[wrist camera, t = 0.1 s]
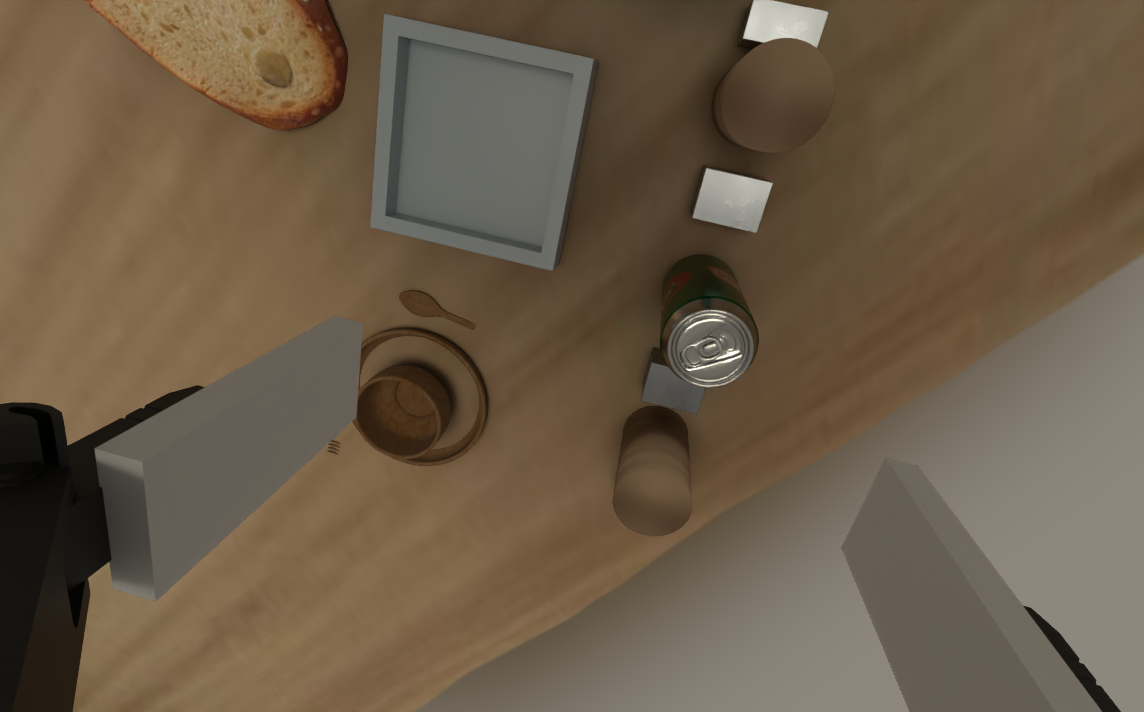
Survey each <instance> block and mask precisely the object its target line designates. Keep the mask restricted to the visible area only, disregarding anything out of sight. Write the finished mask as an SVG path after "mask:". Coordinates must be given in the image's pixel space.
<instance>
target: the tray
mask: <svg viewBox="0 0 1144 712" xmlns="http://www.w3.org/2000/svg"><path fill="white" fill-rule="evenodd" d="M598 64H599V63H598V62H597V61H596V60H595V59H593V58H588V57H583V56H579V55H574V54H569V53H565V52H560V51H555V50H551V49H546V48H541V47H537V46H532V45H527V44H523V43H518V42H513V41H509V40H504V39H499V38H495V37H490V36H485V35H481V34H476V33H471V32H467V31H462V30H457V29H453V28H448V27H443V26H439V25H434V24H430V23H425V22H420V21H416V20H411V19H406V18H402V17H397V16H392V15H388V14H384V22H383V38H382V53H381V69H380V84H379V100H378V115H377V131H376V146H375V162H374V177H373V193H372V208H371V224H370V227H372V228H376V229H380V230H385V231H389V232H393V233H397V234H401V235H405V236H409V237H414V238H418V239H422V240H426V241H430V242H434V243H439V244H443V245H447V246H451V247H455V248H459V249H463V250H468V251H472V252H476V253H480V254H484V255H488V256H492V257H497V258H501V259H505V260H509V261H513V262H517V263H521V264H526V265H530V266H534V267H538V268H542V269H546V270H551V271H553V270H554V269H555V268H556V266H557V265H558V264H559V261H560V256H561V251H562V246H563V241H564V236H565V231H566V226H567V221H568V216H569V211H570V206H571V201H572V196H573V191H574V186H575V180H576V175H577V170H578V165H579V160H580V155H581V150H582V145H583V140H584V135H585V130H586V125H587V120H588V115H589V110H590V105H591V100H592V94H593V89H594V84H595V79H596V74H597V69H598Z"/></svg>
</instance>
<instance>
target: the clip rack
mask: <svg viewBox="0 0 1144 712" xmlns="http://www.w3.org/2000/svg"><path fill="white" fill-rule="evenodd" d="M828 13H829V12H826V11H822V10H817V9H812V8H807V7H802V6H797V5H792V4H787V3H782V2H777V1H772V0H752V2H751V3H750V5H749V6H748V8H747V12H746V16H745V19H744V23H743V26H742V30H741V34H740V37H739V41H738V44H737V45H738V46H743V47H748V48H752V49H754V48H755V47H757V46H759V45H760V44H763V43H765V42H767V41H770V40H774V39H779V38H795V39H800V40H803V41H806V42H808V43H810V44H812V45H813V46H815V47H816V48H817V46H818V43H819V40H820V37H821V34H822V31H823V28H824V25H825V22H826V19H827V16H828ZM771 187H772V182H770V181H768V180H766V179H763V178H758V177H754V176H749V175H745V174H740V173H736V172H732V171H727V170H723V169H718V168H714V167H709V166H705V165H704V166H703V170H702V173H701V177H700V180H699V184H698V188H697V191H696V195H695V198H694V202H693V205H692V209H691V214H692V218H695V219H699V220H704V221H708V222H712V223H717V224H721V225H725V226H730V227H734V228H738V229H743V230H747V231H751V232H757V229H758V226H759V223H760V220H761V217H762V214H763V211H764V208H765V205H766V202H767V199H768V196H769V193H770V190H771ZM704 391H705V388H703V387H698V386H695V385H692V384H690V383H688V382H686V381H684V380H682V379H681V378H679V377H678V376H677V375H675V374H674V373H673V372H672V371H671V370H670V369H669V367H668V366H667V364H666V363H665V361H664V358H663V356H662V352H661V349H658V348H654V347H653V349H652V352H651V356H650V359H649V363H648V367H647V370H646V374H645V377H644V381H643V386H642V396H641V401H644V402H648V403H652V404H656V405H660V406H664V407H668V408H672V409H676V410H680V411H684V412H688V413H692V414H696V415H697V412H698V409H699V406H700V403H701V400H702V397H703V394H704ZM615 482H616V481H615ZM614 489H615V488H614ZM612 503H613V501H612Z"/></svg>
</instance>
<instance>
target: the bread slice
mask: <svg viewBox="0 0 1144 712" xmlns="http://www.w3.org/2000/svg"><path fill="white" fill-rule="evenodd" d="M86 1H87V3H88V4H89V5H90V7H92V8H93V9H94V10H95V11H96V12H98V13H99V14H100V15H102V16H103V17H104V18H105V19H106V20H107V21H108V22H109V23H110V24H112V25H113V26H114V27H115V28H117V29H118V30H119V31H120V32H121V33H123V34H124V35H125V36H126V37H127V38H128V39H129V40H130V41H132V42H133V43H134V44H136V45H137V46H138V47H139V48H140V49H141V50H142V51H143V52H145V53H146V54H148V55H149V56H151V57H152V58H154V59H155V60H156V61H157V62H158V63H159V64H160V65H162V66H163V67H164V68H166V69H167V70H168V71H169V72H171V73H172V74H174V75H175V76H176V77H178V78H179V79H180V80H182V81H183V82H184V83H185V84H187V85H188V86H190V87H191V88H193V89H194V90H196V91H198V92H200V93H201V94H203V95H205V96H206V97H208V98H209V99H211V100H212V101H214V102H216V103H217V104H219V105H221V106H223V107H225V108H228V109H230V110H231V111H233V112H235V113H237V114H239V115H241V116H243V117H244V118H246V119H248V120H251V121H253V122H255V123H257V124H260V125H263V126H265V127H268V128H272V129H277V130H286V129H295V128H299V127H303V126H306V125H309V124H312V123H314V122H315V121H317V120H318V119H320V118H321V117H323V116H324V115H326V114H328V113H330V112H331V111H333V110H335V109H337V108H338V107H339V105H340V104H341V102H342V99H343V96H344V90H345V82H346V76H347V66H348V54H347V49H346V46H345V43H344V42H343V40H342V38H341V36H340V34H339V32H338V30H337V28H336V26H335V24H334V21H333V19H332V17H331V14H330V12H329V10H328V7H327V5H326V2H325V0H86Z"/></svg>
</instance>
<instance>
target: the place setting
mask: <svg viewBox="0 0 1144 712" xmlns="http://www.w3.org/2000/svg"><path fill="white" fill-rule="evenodd" d="M399 299H400V301H401V302H402V304H403V305H404V306H405V307H406V308H407V309H408V310H409V311H410V312H412V313H414V314H416V315H418V316H422V317H435V316H439V317H443V318H446V319H449V320H451V321H454V322H456V323H458V324H461V325H463V326H465V327H467V328H470V329H472V330H474V329H475V326H476V324H474V323H472V322H470V321H468V320H465V319H463V318H460V317H457V316H455V315H453V314H450V313H448V312H446V311H445V310H443V309H442V308H441V307H440V306H439V305H438V303H437V302H436V301H435V300H434V299H433V298H431V297H430V296H428V295H427V294H424V293H422V292H418V291H406V292H402V293H401V294H400V296H399ZM401 336H418V337H423V338H426V339H429V340H432V341H434V342H436V343H438V344H440V345H442V346H443V347H445V348H446V349H448V350H449V351H451V352H452V353H453V354H454V355H455V356H456V357H458V359H459V360H460V361H461V362H462V363H463V364H464V365H465V366H466V368H467V369H468V370H469V372H470V373H471V375H472V377H473V379H474V381H475V383H476V385H477V389H478V393H479V412H478V416H477V419H476V422H475V424H474V426H473V428H472V429H471V431H470V432H469V433H468V434H467V435H466V436H465V437H464V438H463V439H462V440H460V441H459V442H457V443H456V444H454V445H452V446H449V447H446V448H442V449H435V450H431V449H432V448H433V447H434V446H435V444H436V443H437V442H438V440H439V439H440V437H441V436H442V435H443V433H444V431H445V430H446V428H447V426H448V423H449V420H450V415H451V405H450V400H449V396H448V394H447V391H446V390H445V388H444V386H443V385H442V384H441V382H440V381H439V380H438V379H437V378H436V377H435V376H434V375H432V374H431V373H429V372H428V371H426V370H424V369H422V368H419V367H416V366H411V365H397V366H393V367H389V368H387V369H385V370H383V371H381V372H379V373H378V374H376V375H375V376H374V377H372V378H371V379H370V380H369V381H368V382H366V383H365V384H364V385H363V386H362V387H361V388H360V374H361V369H362V366H363V364H364V362H365V360H366V358H367V356H368V355H369V354H370V353H371V351H372V350H373V349H374V348H376V347H377V346H378V345H380V344H381V343H383V342H385V341H387V340H389V339H392V338H395V337H401ZM486 414H487V399H486V392H485V388H484V385H483V382H482V380H481V377H480V375H479V373H478V372H477V370H476V368H475V366H474V365H473V364H472V362H471V361H470V360H469V358H468V357H467V356H466V355H465V354H464V353H463V352H462V351H461V350H460V349H458V348H457V347H456V346H455V345H453V344H452V343H450V342H449V341H447V340H446V339H444V338H442V337H440V336H438V335H435V334H433V333H430V332H427V331H423V330H418V329H410V328H403V329H393V330H388V331H385V332H381V333H379V334H377V335H375V336H373V337H371V338H369V339H368V340H366V341H365V342H363V343H362V344H361V357H360V372H359V386H358V400H357V414H356V418H355V419H354V420H353V421H352V422H353V423H354V425H355V426H356V428H357V429H358V431H359V432H360V434H361V435H362V437H363V438H364V439H365V440H366V441H367V442H368V443H369V444H370V445H371V446H372V447H373V448H375V449H376V450H378V451H379V452H381V453H383V454H385V455H387V456H389V457H391V458H393V459H396V460H398V461H401V462H404V463H408V464H412V465H419V466H433V465H440V464H445V463H448V462H451V461H453V460H455V459H457V458H459V457H461V456H462V455H463V454H465V453H466V452H467V451H468V450H469V449H470V448H471V447H472V446H473V445H474V444H475V442H476V441H477V439H478V438H479V436H480V434H481V432H482V430H483V427H484V424H485V420H486ZM330 442H333V443H337V444H341V443H339V442H335V441H330ZM329 445H331V446H335V447H338V448H340V447H339V446H337V445H333V444H329ZM328 448H329V447H328ZM329 449H332V450H336V451H339V450H338V449H335V448H329ZM328 452H331V453H334V454H338V453H336V452H332V451H328Z"/></svg>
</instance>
